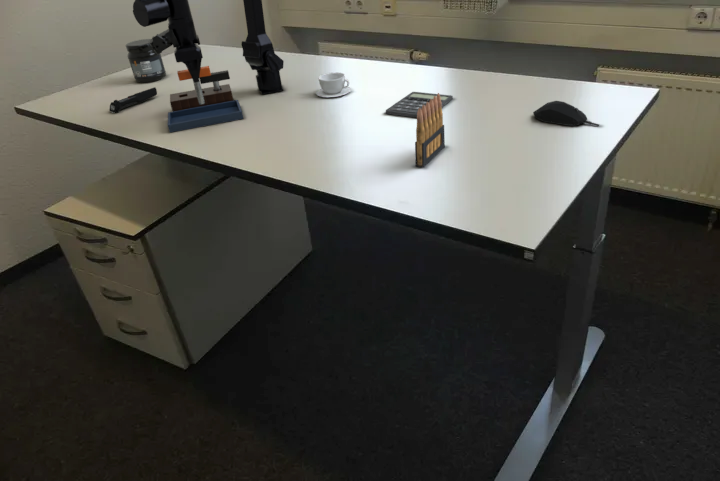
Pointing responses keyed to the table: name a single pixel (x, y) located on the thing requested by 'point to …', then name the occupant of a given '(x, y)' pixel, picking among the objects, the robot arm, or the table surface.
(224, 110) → the tray
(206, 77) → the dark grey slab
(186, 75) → the t handle
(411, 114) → the calculator
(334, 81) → the teacup
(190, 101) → the rack
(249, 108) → the table surface
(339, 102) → the table surface
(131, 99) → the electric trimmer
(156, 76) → the supplement container
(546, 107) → the gaming mouse
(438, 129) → the ammunition clip
